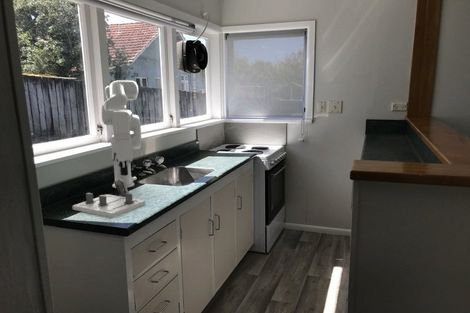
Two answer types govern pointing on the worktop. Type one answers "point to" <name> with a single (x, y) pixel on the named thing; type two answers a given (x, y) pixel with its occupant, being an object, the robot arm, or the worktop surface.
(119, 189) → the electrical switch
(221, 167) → the worktop surface
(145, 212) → the worktop surface
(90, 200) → the breaker
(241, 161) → the worktop surface
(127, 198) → the cylinder
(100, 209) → the white base plate
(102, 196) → the breaker
